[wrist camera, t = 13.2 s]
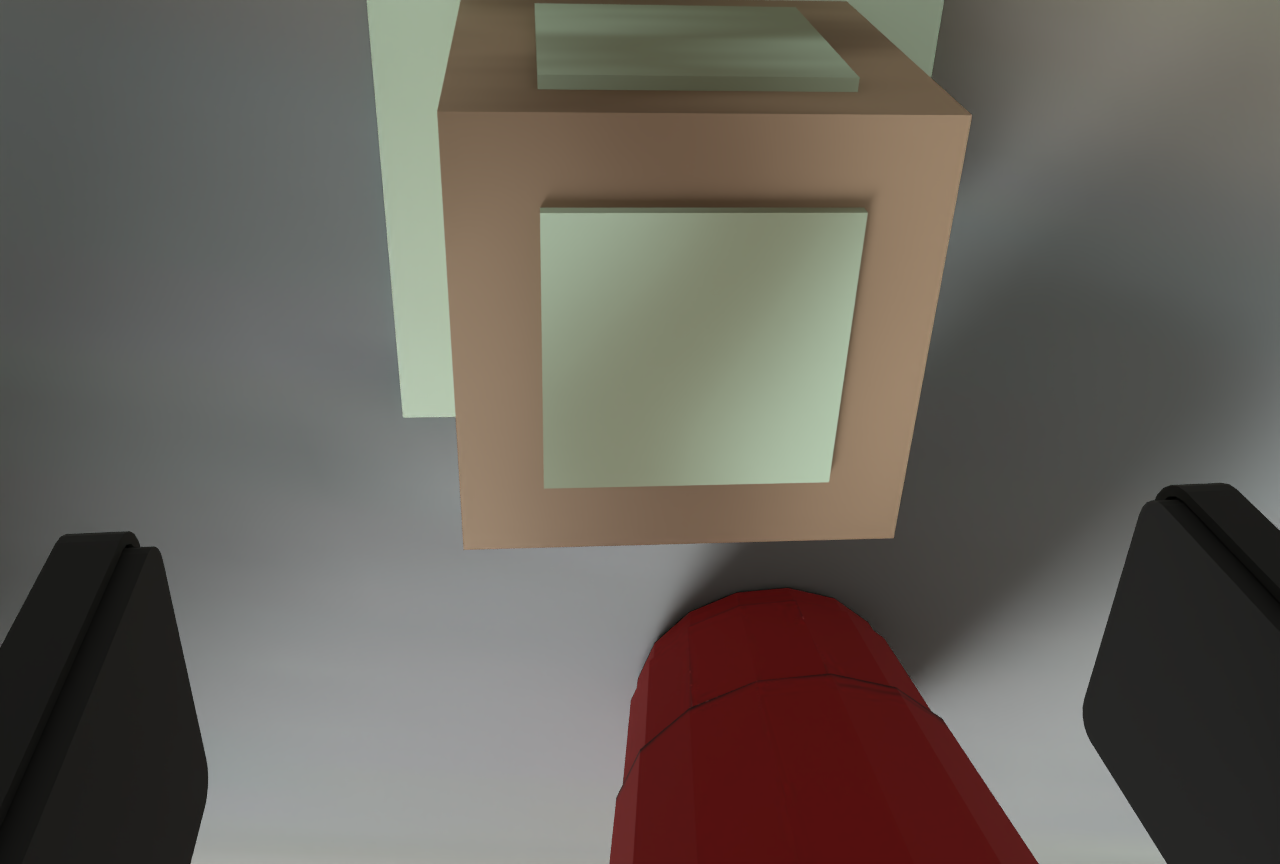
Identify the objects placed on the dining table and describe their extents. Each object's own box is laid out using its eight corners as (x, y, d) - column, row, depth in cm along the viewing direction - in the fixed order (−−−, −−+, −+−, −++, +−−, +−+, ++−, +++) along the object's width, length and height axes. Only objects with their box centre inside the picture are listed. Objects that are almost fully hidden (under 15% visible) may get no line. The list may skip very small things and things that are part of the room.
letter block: (848, -11, 18) (980, 104, 13) (805, 341, 21) (897, 545, 16) (460, -17, 18) (434, 100, 12) (478, 344, 21) (462, 557, 16)
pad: (874, 405, 22) (876, 410, 22) (403, 413, 22) (402, 417, 21) (957, -100, 18) (960, -99, 18) (358, -117, 17) (356, -115, 17)
